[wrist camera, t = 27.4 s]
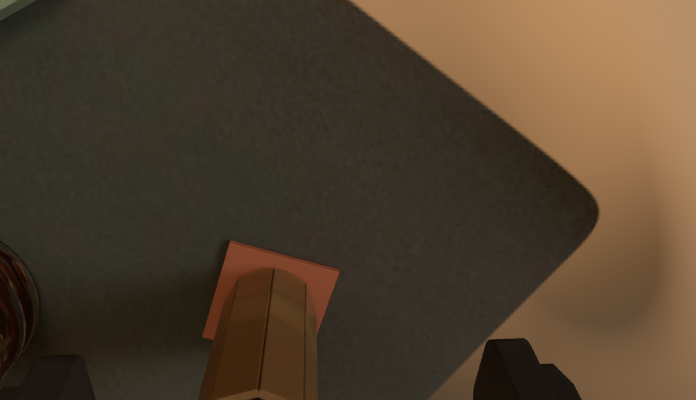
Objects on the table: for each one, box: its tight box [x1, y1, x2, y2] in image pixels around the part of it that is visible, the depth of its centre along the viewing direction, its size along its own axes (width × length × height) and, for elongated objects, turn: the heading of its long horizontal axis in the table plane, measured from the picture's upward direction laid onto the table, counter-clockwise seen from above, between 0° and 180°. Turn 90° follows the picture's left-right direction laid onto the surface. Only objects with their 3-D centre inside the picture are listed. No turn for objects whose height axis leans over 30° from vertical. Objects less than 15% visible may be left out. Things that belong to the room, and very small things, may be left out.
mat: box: [202, 240, 340, 340], centre depth 41 cm, size 8×8×1 cm
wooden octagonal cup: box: [198, 268, 318, 400], centre depth 35 cm, size 6×6×13 cm
